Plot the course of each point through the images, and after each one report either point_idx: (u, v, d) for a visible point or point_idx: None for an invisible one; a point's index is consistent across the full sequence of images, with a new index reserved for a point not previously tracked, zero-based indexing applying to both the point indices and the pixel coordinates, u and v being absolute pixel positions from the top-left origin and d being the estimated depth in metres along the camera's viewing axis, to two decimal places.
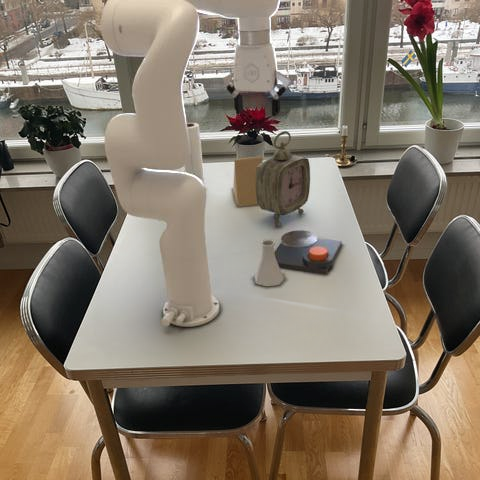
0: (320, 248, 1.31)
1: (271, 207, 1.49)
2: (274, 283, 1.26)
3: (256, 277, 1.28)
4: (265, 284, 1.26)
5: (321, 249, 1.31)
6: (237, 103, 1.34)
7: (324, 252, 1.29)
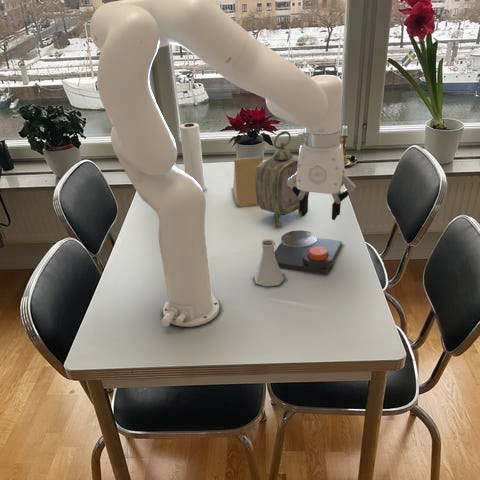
0: (320, 248, 1.31)
1: (271, 207, 1.49)
2: (274, 283, 1.26)
3: (256, 277, 1.28)
4: (265, 284, 1.26)
5: (321, 249, 1.31)
6: (303, 205, 1.24)
7: (324, 252, 1.29)
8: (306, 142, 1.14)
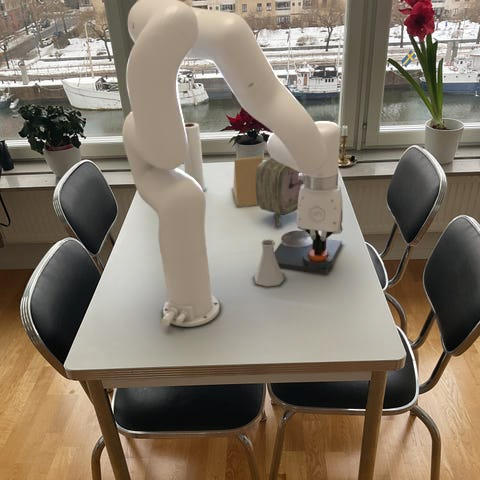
0: None
1: (271, 207, 1.49)
2: (274, 283, 1.26)
3: (256, 277, 1.28)
4: (265, 284, 1.26)
5: None
6: (316, 245, 1.28)
7: (324, 254, 1.30)
8: (306, 184, 1.19)
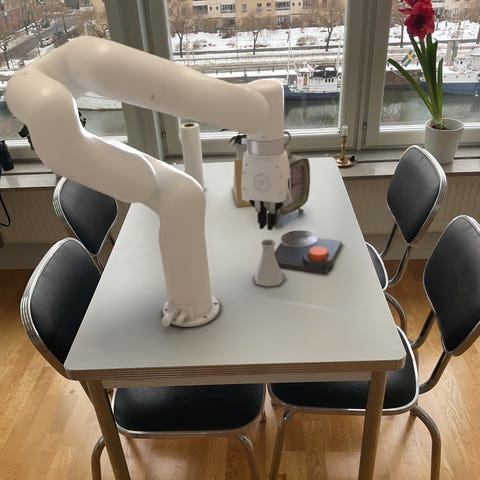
0: (320, 248, 1.31)
1: None
2: (274, 283, 1.26)
3: (256, 277, 1.28)
4: (265, 284, 1.26)
5: (321, 249, 1.31)
6: (261, 218, 1.19)
7: (324, 252, 1.29)
8: (249, 149, 1.10)
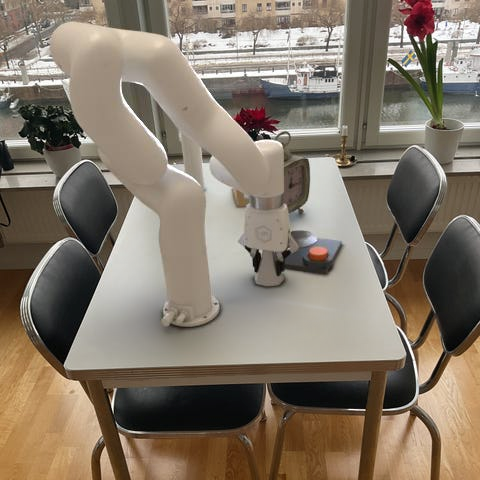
0: (320, 248, 1.31)
1: None
2: (274, 283, 1.26)
3: (256, 277, 1.28)
4: (265, 284, 1.26)
5: (321, 249, 1.31)
6: (256, 263, 1.26)
7: (324, 252, 1.29)
8: (251, 203, 1.16)
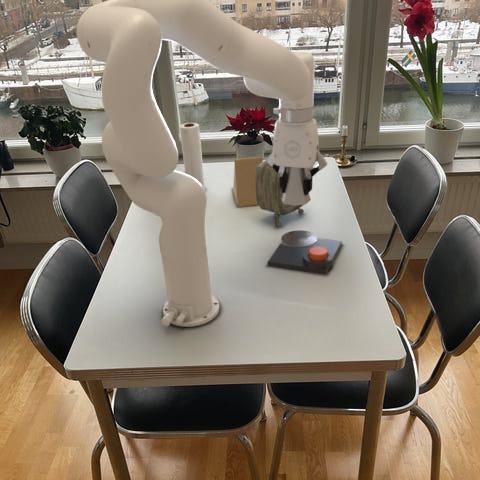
0: (320, 248, 1.31)
1: (271, 207, 1.49)
2: (301, 202, 1.28)
3: (283, 197, 1.29)
4: (293, 203, 1.28)
5: (321, 249, 1.31)
6: (283, 182, 1.28)
7: (324, 252, 1.29)
8: (281, 117, 1.18)
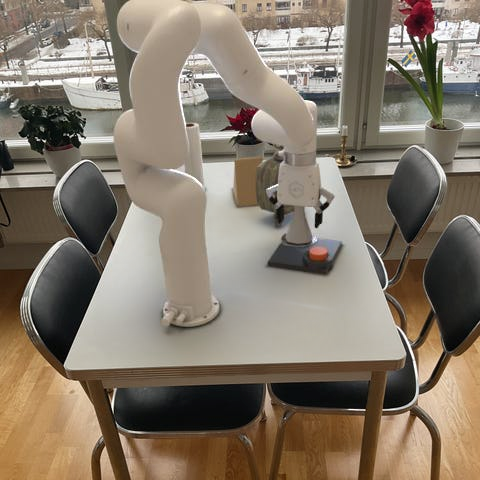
0: (320, 248, 1.31)
1: (271, 207, 1.49)
2: (304, 241, 1.35)
3: (287, 236, 1.37)
4: (296, 242, 1.35)
5: (321, 249, 1.31)
6: (279, 214, 1.35)
7: (324, 252, 1.29)
8: (285, 160, 1.25)
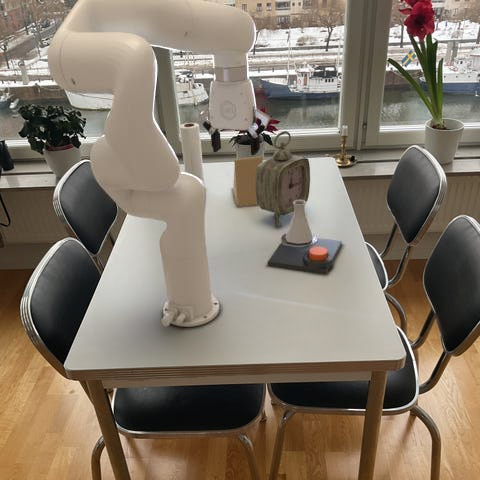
0: (320, 248, 1.31)
1: (271, 207, 1.49)
2: (304, 241, 1.35)
3: (287, 236, 1.37)
4: (296, 242, 1.35)
5: (321, 249, 1.31)
6: (214, 141, 1.26)
7: (324, 252, 1.29)
8: (215, 77, 1.16)
